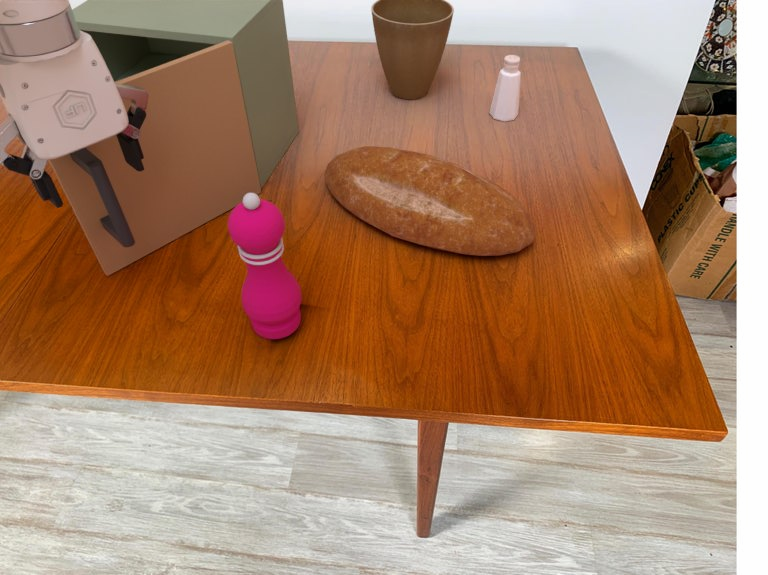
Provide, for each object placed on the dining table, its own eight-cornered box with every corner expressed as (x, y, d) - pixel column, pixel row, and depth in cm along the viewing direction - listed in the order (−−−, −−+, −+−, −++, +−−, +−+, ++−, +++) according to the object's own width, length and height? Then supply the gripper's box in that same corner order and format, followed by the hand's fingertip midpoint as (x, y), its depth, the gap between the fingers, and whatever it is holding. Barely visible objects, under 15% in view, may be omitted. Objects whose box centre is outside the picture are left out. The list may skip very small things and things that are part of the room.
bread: (503, 289, 78) (513, 239, 71) (296, 202, 91) (289, 154, 85) (552, 219, 88) (564, 169, 82) (359, 150, 101) (357, 103, 95)
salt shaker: (517, 108, 111) (527, 51, 103) (518, 122, 107) (529, 65, 99) (488, 106, 112) (496, 50, 104) (489, 121, 108) (497, 63, 100)
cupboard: (261, 189, 94) (232, 37, 76) (115, 167, 98) (56, 19, 81) (299, 131, 106) (281, -11, 88) (167, 114, 110) (126, -25, 93)
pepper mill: (301, 343, 72) (280, 216, 57) (243, 342, 72) (207, 216, 57) (307, 300, 77) (289, 174, 62) (253, 299, 77) (222, 173, 62)
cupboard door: (284, 208, 90) (259, 55, 73) (128, 297, 77) (53, 138, 60) (257, 189, 93) (228, 39, 76) (104, 272, 80) (25, 114, 63)
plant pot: (441, 113, 110) (447, 27, 98) (364, 104, 112) (362, 20, 101) (452, 77, 120) (459, -5, 109) (382, 70, 122) (381, -11, 111)
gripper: (-53, 72, 48) (34, 233, 60) (139, 16, 56) (181, 166, 69) (-83, 45, 51) (5, 202, 63) (102, -4, 60) (148, 142, 72)
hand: (96, 183), depth 66 cm, fingers open, 9 cm apart
